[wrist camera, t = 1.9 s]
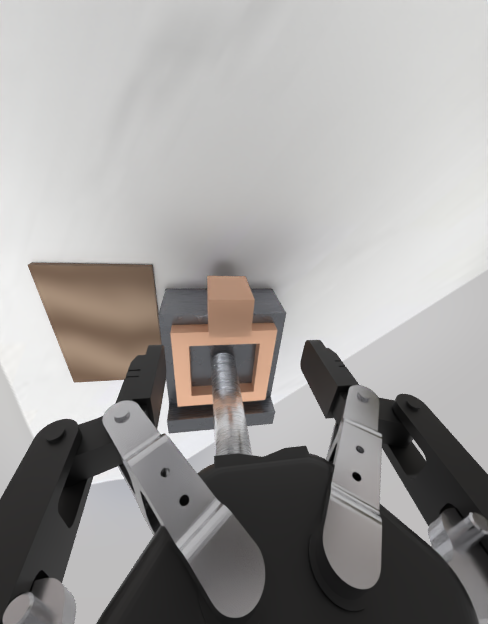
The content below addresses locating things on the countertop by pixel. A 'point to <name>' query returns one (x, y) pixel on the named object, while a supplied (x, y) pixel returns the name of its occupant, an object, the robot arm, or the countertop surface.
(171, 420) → the block
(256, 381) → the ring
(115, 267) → the board
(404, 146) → the countertop surface
